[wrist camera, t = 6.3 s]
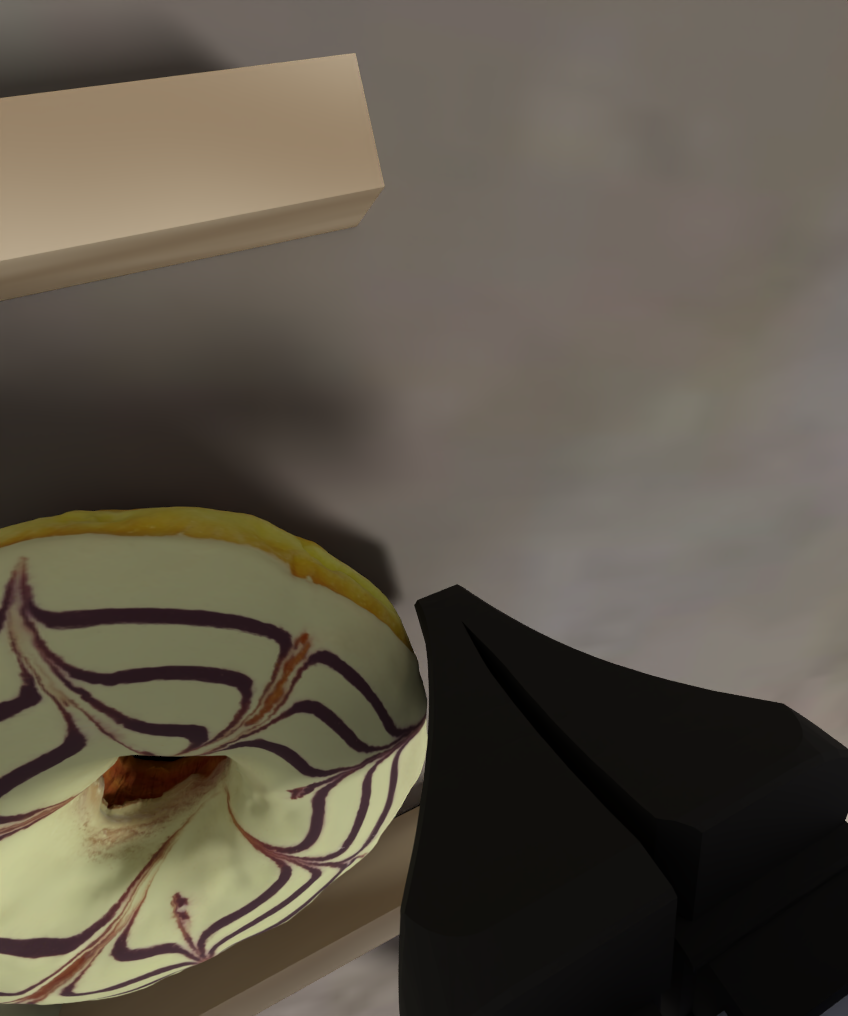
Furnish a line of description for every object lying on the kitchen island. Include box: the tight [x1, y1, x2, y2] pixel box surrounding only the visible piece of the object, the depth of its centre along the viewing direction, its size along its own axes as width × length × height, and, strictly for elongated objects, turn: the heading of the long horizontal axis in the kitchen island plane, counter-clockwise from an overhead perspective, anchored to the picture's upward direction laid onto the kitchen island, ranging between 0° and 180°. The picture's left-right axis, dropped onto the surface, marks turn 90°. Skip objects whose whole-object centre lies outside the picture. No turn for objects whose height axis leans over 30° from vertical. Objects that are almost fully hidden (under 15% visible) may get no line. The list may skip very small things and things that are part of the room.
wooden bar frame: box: [0, 53, 420, 1016], centre depth 10 cm, size 21×16×2 cm
